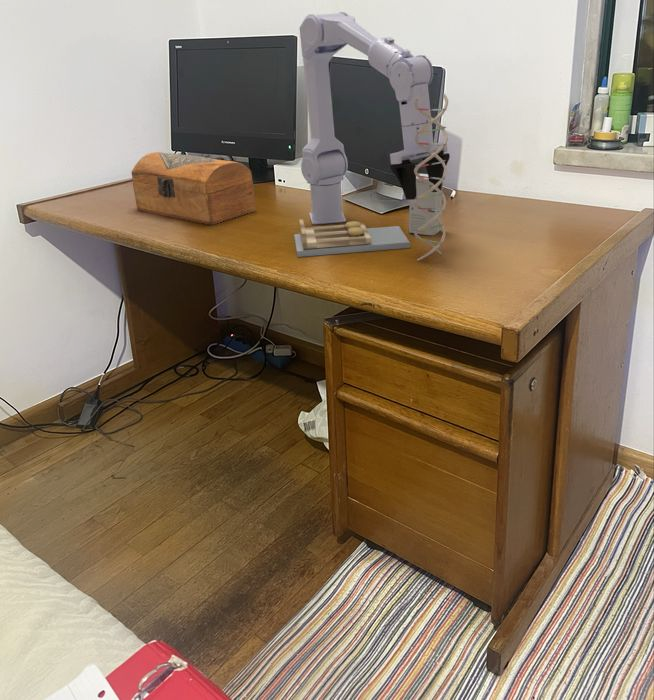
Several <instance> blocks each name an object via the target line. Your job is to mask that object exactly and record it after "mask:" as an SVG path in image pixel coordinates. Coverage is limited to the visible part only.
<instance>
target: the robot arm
mask: <svg viewBox="0 0 654 700" xmlns="http://www.w3.org/2000/svg"><path fill="white" fill-rule="evenodd" d="M299 35H300V37H299V38H300V47H301V55H302V56H301V57H302V61H303V62H302V63H303V70H304V81H305V92H306V101H307V110H308V111H307V112H308V122H309V131H310V133H309V134H310V140H309V141H308V143H306V145H305V146H304V147H303V148H302V150H301V155H302V158H301V159H302V160H301V165H300V169H301V174H302V176H303V178H304V179H305V181H306V183H307V184H309V189H310V201H311V204H310V205H311V212H308V213H309V218H310V221H311V225H324V224H336V223H337V224H338V223H347V219H346V216H345V214H344V212H343V200H342V199H343V197H342V193H343V192H342V181H344V176H345V175H346V174H347V171H348V167H349V163H348V157H347V156H346V153H345V147H344V144H343V142H341V141H340V140H339V139H338V138H336V136H335V124H334V114H333V113H334V112H333V111H334V110H333V103H332V101H333V100H332V91H331V79H330V77H331V76H330V67H329V63H330V61H331V60H332V58H333V57H334V55H335V54H337V53H338V52H340V51H341V50H342V49H344V48H345V47H346V46H347V45H348V46H350V47H352V48H353V49H354V50H357V51H358V52H360V53H362V54H364V55H366V56H367V61H368V63H369V65H370V66H371V67H372V68H373V69H375V70H376V71H378V72H379V73H381V74H382V75H384V76H385V77H387V78H388V79H389V83H390V86H391V87H392V89H393V91H394V92H395V98H396V100H397V102H398V105H399V115H400V122H401V123H400V124H401V133H402V140H403V150H400V151H397V152H392V153H390V154H389V159H390V170H391V171H392V172H393V174H394V176H395V177H396V178H397V180H398V182H399V184H400V187H401V189H402V192H403V194H404V197H405V200H407V201H408V200H409V201H410V200H414V199H415V198H416V195H417V192H416V175H415V173H414V169H415V168H416V166H415V165H419V163H418V162H413V163H412V161H413V160H418V159H422V161H424V160H425V159H426V158H428V157H429V156H431V154H430V153H429V152H428V151H426V150H425V149H424V148H422V147H421V146H419V145H418V144H416V142H415V140H414V138H415V135H416V132H417V131H419V130H420V129H421V128H423V127H424V126H425V125H426V124H428V123H429V122H430V121H431V120H430V119H428V118H427V117H425V116H424V115H423V114H421V113H420V112H419V111H418V110H416V109H415V105H414V101H415V99H416V98H417V97H419V99H418V102H417V105H418V107H419V108H424V109H429V110H422V111H424V112H425V113H427V114H428V115H430V116H431V117H432V113H431V104H430V93H429V85H430V84H431V83H432V80H433V77H434V67H433V65H432V62H431V60H430V59H429V58H428V57H427V56H426V55H425V54H419V55H416V56H415V55H413V54H412V53H411V51H410V50H409V49H408V48H407V49H404V48H402V47H401V46H399V44H396V42H395V39H394V38H393V37H391V36H389V37H381V38H378V39H377V38H376V37H375V36H374V35H372V34H371V33H370V32H369V31H367V30H366V29H365V28H363V27H362V25H359V24H358V22H356V19H355V16H352V15H349V13H347V12H344V11H342V12H341V11H340V12H338V13H322V14H314V13H311V14H307V15H306V16H305V17H304V18H303V21H302V22H301V24H300V26H299ZM426 130H429V131H430V132H424V133H419V135H418V141H419V142H421V143H429V145H424V144H423V145H424V146H425V147H426V148H428V149H429V150H433V152H436V151H437V150H438V149H439V147H440V146H435V145H431V144H440V145H442V144H443V142H436V143H434V134H433V131H431V130H433V125H432V124H431V125H430V126H428V127H427V128H426V129H425V130H423V131H426ZM437 155H438V156H439V157H440V158H441V159H442V160H446V161H445V162H444V163H445V165H446V166H447V165H448V162H449V161H450V158H451V157H450V152H449V153H448V144H447V143H446V145H445V146H444V148H443V149H442V150H441V151H440V152H439V153H438V154H437ZM436 162H440V161H439V160H438V159H436V158H435V157H433V158H432V159H430V160H429V161H427V162H426V163H424V164H423V165H425V164H429V165H428V166H425V168H426V169H425V170H426V174H428V177H429V181H430V182H431V183H433V184H434V185H435V184H436V183H438V182H439V181H440V180H439V179H431V178H432V177H436V178H442V177H443V172H444V167H443V165H442V163H439V164H434V165H432V163H436ZM430 187H431V186H430ZM437 188H438V189H439V190H441V189H442V190H443V186H442V183H441V184H440V185H439V186H438V187H437ZM431 192H437V191H436V190H435V189H434V190H433V191H431Z"/></svg>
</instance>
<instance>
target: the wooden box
mask: <svg viewBox="0 0 654 700" xmlns="http://www.w3.org/2000/svg"><path fill="white" fill-rule="evenodd" d="M131 178H132V186H133V192H134V198H135V204H136V205H135V206H136V209H137V211H139V212H142V211H143V213H148V214H153V213H154V214H153V215H158V214H159V215H160V216H163V215H164V216H163V217H168V216H169V217H170V218H173V217H174V218H173V219H178V218H180V219H179V220H183V219H185V220H184V221H188V220H190V221H189V222H193V221H194V222H193V223H197V222H199V224H202V223H204V224H203V225H207V224H209V225H208V226H214V224H215V225H217V223H218V224H221V223H223V221H224V222H227V221H230V220H232V218H233V219H235V217H236V218H239V217H241V215H242V216H245V215H247V213H248V214H251V213H253V212H255V211H256V198H255V190H254V181H253V175H252V170H251V169H250V168H249V167H248V166H246V165H245V164H243V163H241V162H236V161H233V160H232V161H231V160H230V161H229V160H223V159H218V158H217V159H215V158H211V157H206V156H198V155H189V154H182V153H181V154H180V153H171V152H170V153H169V152H168V153H167V152H160V151H159V152H158V151H157V152H156V151H154V152H150V153H146V154H145V155H144V156H142V157H140V159H139V160H138V162H136V164H135V165H134V167H133V169H132V170H131ZM244 214H245V215H244ZM159 215H158V216H159ZM238 216H239V217H238ZM169 217H168V218H169ZM229 219H230V220H229ZM226 220H227V221H226ZM220 222H221V223H220Z"/></svg>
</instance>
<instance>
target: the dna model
mask: <svg viewBox="0 0 654 700" xmlns="http://www.w3.org/2000/svg"><path fill="white" fill-rule="evenodd" d="M442 96H443V99H444V101H445V102H444V103H445V104H444V106H443V108H432V109H431V111H434V112H435V111H436V112H439V113H438V114H437V115H436V116H435V117H432V115H431V116H430V115H428V114H427V113H425V112H424V111H422V110H429V109H424V108H419V107H418V105H417V102H418V99H419V97H417V98H416V99H415V101H414V105H415V109H416V110H418V111H419V112H420V113H421V114H423V115H424V116H425V117H427V118H428V119H430V120H431V121H430V122H429V123H428V124H426V125H425V126H424V127H423V128H421V129H420V130H419V131H417V132H416V135H415V138H414V140H415V142H416V144H418V145H419V146H421V147H422V148H424V149H425V150H426V151H428V152H427V153H430V154H431V156H429V157H428V158H426V159H425V160H424V161H423V160H422V161H421V162H420V163H418V165H415V166H416V168H415V169H414V173H415V175H416V176H417V177H418V178H420V179H421V180H423V181H424V182H426V183H427V184H429V185H430V186H431V187H430V190H428V191H426V192H425V193H423V194H422V195H421V196H419V197H418V198H415V199H416V200H415V201H414V205H415V207H416V208H418V209H419V210H421V211H422V212H424V213H426V214H427V215H429V217H432V218H433V219H430V221H429V222H427V223H426V224H424V225H423V226H421V227H420V228H418V229H415V232H414V233H413V234H414V237H415V238H416V239H418V240H420V241H422V243H425V244H426V245H428V246H429V247H430V248H432V249H430V251H428V252H426V253H425V254H423V255H421V256H420V257H419V258H418V257H417V259H416V260H417V261H418V262H419V261H421V260H423V259H425V258H426V257H429V256H430V255H431V254H433V253H434V252H436V253H438V254H439V255H442V253H443V252H441V251H440V250H439V248H440V247H441V246H442V244H443V243H444V241H445V238H446V228H445V225H444V223H442V221H441V222H440V220H439V219H438V218H439V217H440V215H441V216H442V214H443V213H444V212H445V210H446V207H447V199H446V196H445V193H444V192H443V190H442V191H441V190H439V189H438V188H437V187H438V186H439V185H440V184H441V183H442V182H443V183H444V181H445V180H446V176H447V172H448V169H447V165H445V163H444V162H445V161H446V160H442V159H441V158H440V157H439V156H438V155H437V154H438V153H439V152H440V151H441V150H442V149H443V148H444V146H445V145H446V143H447V142H448V133H447V131H446V128H447V126H444V125H442V124H441V123H440V122H439V121H438V120H439V119H440V118H441V117H443V115H444V114H445V112H446V111H447V109H448V106H449V99H448V96H447V95H446V93H444V94H443V95H442ZM431 124H435V125H436V126H437V127H438V128H435V129H433V128H432V130H431V131H432V132H436V131H440V130H441V131H442V133H443V136H444V139H443V144H442V145H440V144H435V143H434V144H431V145H435V146H440V147H439V149H438V150H437V151H436V152H433V150H429V149H428V148H426V147H425V146H424V145H429V143H421V142H419V141H418V135H419V133H424V132H430V131H429V130H426V131H423V130H425V129H426V128H427V127H428V126H430V125H431ZM423 144H424V145H423ZM433 157H435V158H436V159H438V160H439V161H440V162H436V163H432V165H434V164H439V163H442V165H443V167H444V172H443V177H442V178H436V177H432V178H431V179H439V180H440V181H439V182H438V183H436V184H435V185H434V184H433V183H431V182H430V181H428V180H427V179H425V178H429V177H426V176H420V175H419V174H420V173H419V172H418V171H419V170H420V168H422V167H426V166H428V165H429V164H424V163H426V162H427V161H429V160H430V159H432V158H433ZM434 189H435V190H436V191H437V192H438V193H439V194H435V195H431V196H426V197H424V196H425V195H427V194H428V193H430V192H431V191H433V190H434ZM438 195H441V197H442V202H443V204H442V208H441V210H435V209H431V210H432V211H437V212H439V213H438V214H437V215H436V216H434V215H433V214H431V213H429V212H428V211H426V210H428V208H421V207H420V206H419V205H418V204H417V202H418V201H419V200H420V199H424V198H428V197H433V196H438ZM424 209H426V210H424ZM435 220H436V221H437V222H438V223H439V225H438V226H434V227H430V228H425V227H426V226H428V225H430V224H431V223H433V222H434V221H435ZM436 227H441V231H442V236H441V239H440V241H436V240H435V241H434V240H431V239H427V238H423V237H421V235H420V234H417V233H418V231H422V230H427V229H431V228H436ZM423 228H425V229H423ZM433 243H434V244H433ZM435 244H436V245H435Z"/></svg>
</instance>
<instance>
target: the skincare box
mask: <svg viewBox="0 0 654 700" xmlns="http://www.w3.org/2000/svg"><path fill="white" fill-rule="evenodd" d="M418 174H419V175H420V176H426V177H428V173H418ZM425 179H427V180H428V181H429V178H425ZM443 183H444V181H443V182H442V187H443ZM428 190H430V185H429V184H427V183H426V182H424V181H423V180H421V179H420V178H418V177H417V176H416V192H417V195H416V198H418V197H419V196H421V195H422V194H423V193H425V192H426V191H428ZM441 191H442V192H443V188H442V189H441ZM435 194H439V193H438V192H430V193H428V194H427V195H425V196H424V197H426V196H431V195H435ZM415 200H416V199H414V200H409V213H408V232H409V234H414V232H415V229H418V228H420V227H421V226H423V225H424V224H426V223H427V222H429V221H430V219H433V218H432V217H429V215H427V214H426V213H424V212H422V211H421V210H419V209H418V208H416V207H415V205H414V201H415ZM442 202H443V200H442V197H441V195H438V196H433V197H428V198H424V199H420V200H419V201H418V202H417V204H418V205H419V206H420V207H421V208H428V210H426V209H424V210H426V211H428V212H429V213H431V214H433V215H434V216H436V215H437V214H438V213H439V212H437V211H432V210H431V209H435V210H442V207H443V204H442ZM438 219H439V220H440V222H441V223H442V214H441V215H440V217H439V218H438ZM438 225H439V223H438V222H437V221H436V220H435V221H434V222H433V223H431V224H430V225H428V226H426V227H425V228H430V227H434V226H438ZM425 228H423V229H425ZM440 231H442V228H441V227H436V228H431V229H427V230H422V231H418V233H417V235H424V236H435V235H437V234H438V233H439V232H440Z"/></svg>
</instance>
